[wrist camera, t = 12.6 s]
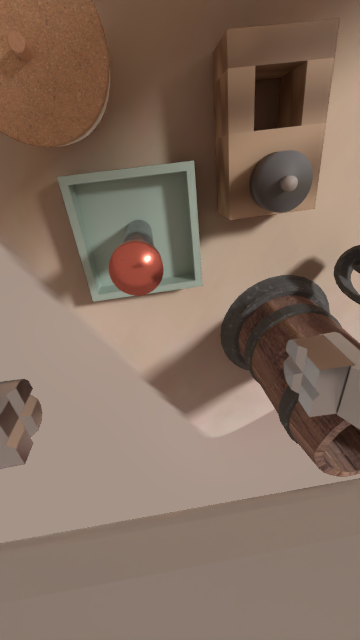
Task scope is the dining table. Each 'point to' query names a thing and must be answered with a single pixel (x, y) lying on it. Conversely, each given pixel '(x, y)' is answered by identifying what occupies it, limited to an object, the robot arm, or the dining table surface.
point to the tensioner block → (293, 121)
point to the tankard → (270, 353)
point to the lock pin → (136, 261)
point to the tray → (135, 204)
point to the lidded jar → (52, 71)
